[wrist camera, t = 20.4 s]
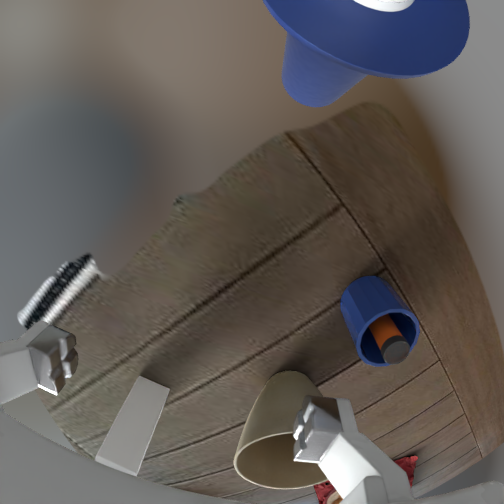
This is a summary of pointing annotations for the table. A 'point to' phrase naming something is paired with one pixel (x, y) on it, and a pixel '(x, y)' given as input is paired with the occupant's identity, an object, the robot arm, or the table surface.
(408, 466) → the plate with food
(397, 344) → the orange tube bottle
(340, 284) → the table surface
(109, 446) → the milk
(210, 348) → the table surface
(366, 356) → the cup
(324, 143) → the table surface
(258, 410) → the plant pot
